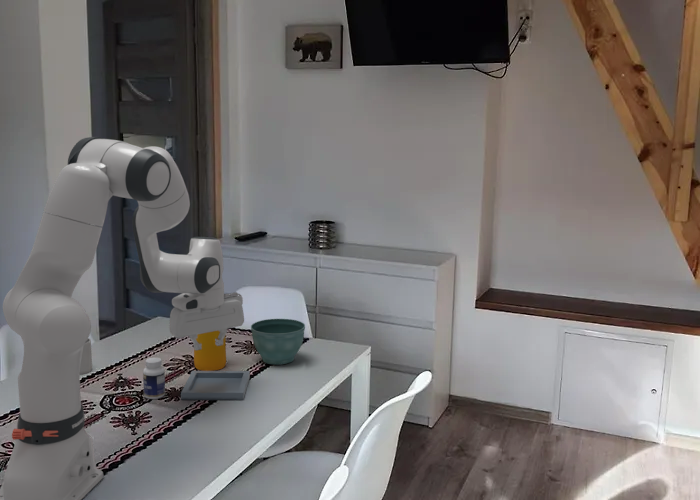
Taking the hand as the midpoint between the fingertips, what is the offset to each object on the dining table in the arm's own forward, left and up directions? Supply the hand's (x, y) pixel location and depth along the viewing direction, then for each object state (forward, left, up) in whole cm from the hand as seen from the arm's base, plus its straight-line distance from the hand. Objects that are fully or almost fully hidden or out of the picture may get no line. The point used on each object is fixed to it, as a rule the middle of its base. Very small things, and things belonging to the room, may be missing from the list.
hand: (208, 347), depth 189 cm
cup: (+14, +40, -12) cm, 44 cm away
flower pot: (+23, -17, -12) cm, 31 cm away
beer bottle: (+18, +3, -12) cm, 21 cm away
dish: (0, -2, -12) cm, 12 cm away
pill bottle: (-5, +14, -12) cm, 19 cm away
